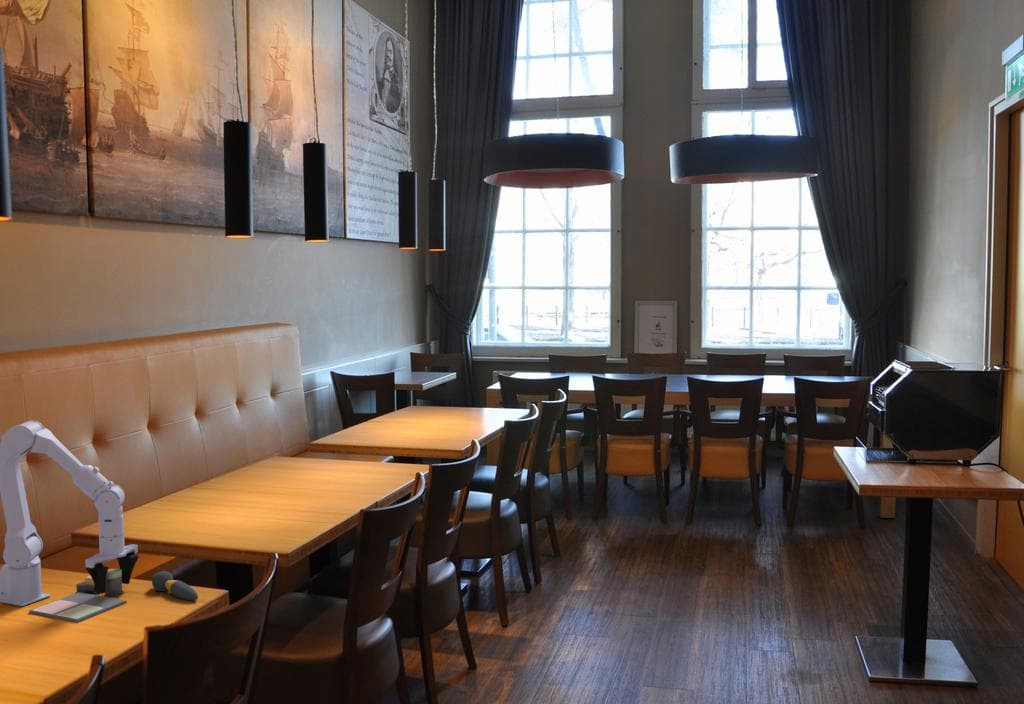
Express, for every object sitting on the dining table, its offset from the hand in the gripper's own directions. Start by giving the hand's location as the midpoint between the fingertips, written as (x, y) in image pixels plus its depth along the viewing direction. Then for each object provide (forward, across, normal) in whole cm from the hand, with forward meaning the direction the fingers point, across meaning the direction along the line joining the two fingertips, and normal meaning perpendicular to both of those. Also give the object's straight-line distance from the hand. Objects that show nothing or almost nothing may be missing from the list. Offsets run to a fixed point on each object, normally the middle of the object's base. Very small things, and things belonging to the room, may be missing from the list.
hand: (113, 587), depth 225 cm
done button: (0, 0, +7) cm, 7 cm away
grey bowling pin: (+2, +6, -14) cm, 16 cm away
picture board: (+2, -10, 0) cm, 11 cm away
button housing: (+2, 0, +7) cm, 7 cm away
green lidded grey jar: (+2, 0, 0) cm, 2 cm away
